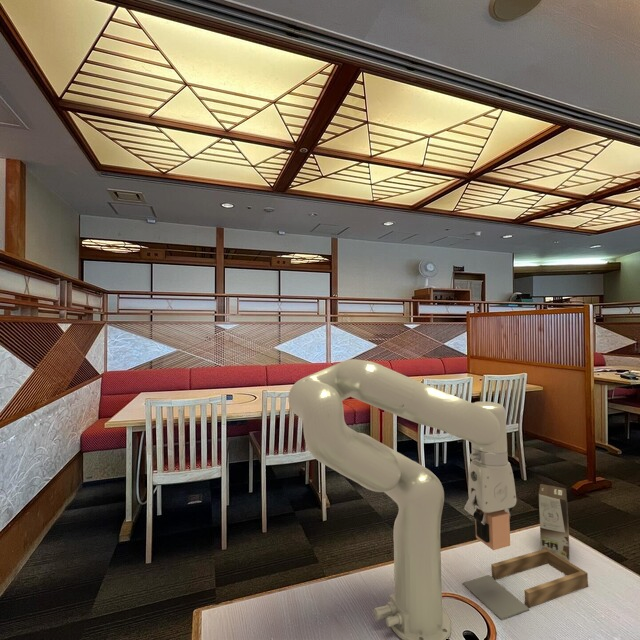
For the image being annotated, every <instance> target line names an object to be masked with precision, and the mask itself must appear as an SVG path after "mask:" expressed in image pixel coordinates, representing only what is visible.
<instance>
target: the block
mask: <svg viewBox="0 0 640 640" xmlns="http://www.w3.org/2000/svg"><path fill="white" fill-rule="evenodd" d="M480 515H481V516H482V511H481V510H480ZM474 521H475V524H474V525H475V526H476V519H474ZM510 523H511V522H510V518H509V513H507V512H505V511H504V510H501V511H496V512H492V513H488V517H487V524H488V525H489V542H488V543H486V542H485V541H483V540H482V539H481V538H479V537H478V536H477V532H476V531H475V538H476V539H477V540H478V541H480V542H481V543H483V544H484V545H485V546H487V547H488V548H489V549H491V550H492V551H496V550H499V549H503V548H506V547H509V546H511V527H510Z"/></svg>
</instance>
